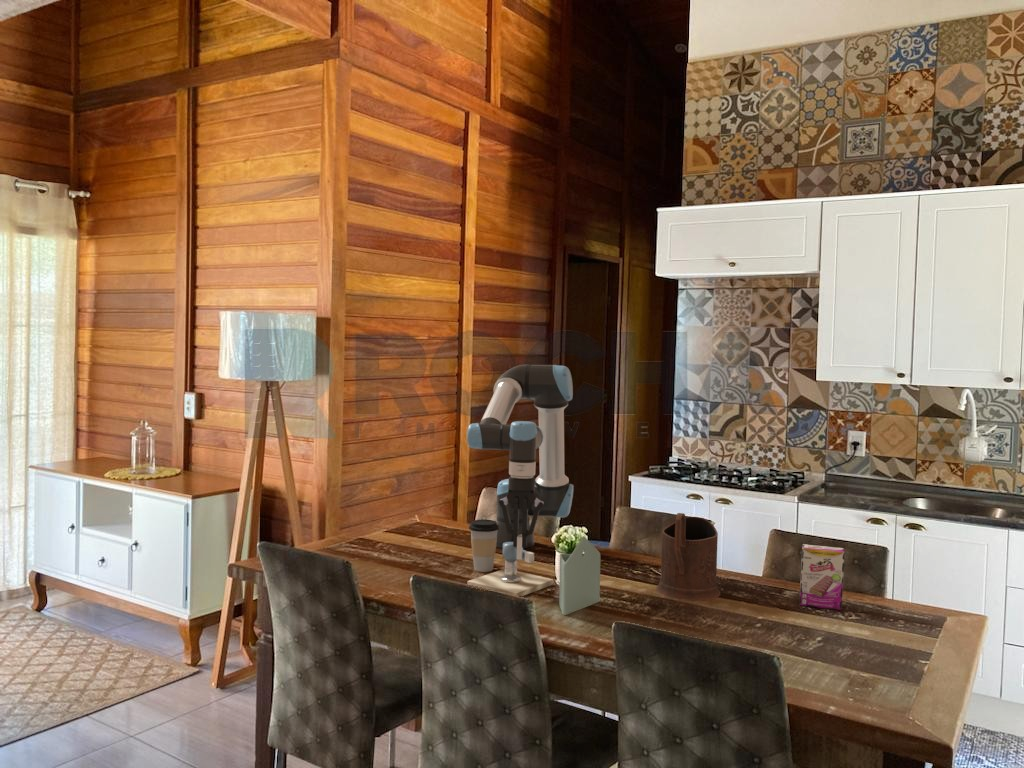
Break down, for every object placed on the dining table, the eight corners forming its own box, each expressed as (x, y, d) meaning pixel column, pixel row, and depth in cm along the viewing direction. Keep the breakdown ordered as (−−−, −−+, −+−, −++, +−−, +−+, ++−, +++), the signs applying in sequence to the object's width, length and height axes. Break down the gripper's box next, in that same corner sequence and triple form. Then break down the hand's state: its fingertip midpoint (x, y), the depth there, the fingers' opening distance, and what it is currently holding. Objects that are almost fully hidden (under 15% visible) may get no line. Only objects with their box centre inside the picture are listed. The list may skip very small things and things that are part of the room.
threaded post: (508, 576, 258) (509, 554, 258) (524, 579, 254) (525, 558, 254) (496, 580, 253) (496, 558, 253) (512, 584, 249) (512, 562, 249)
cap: (499, 556, 254) (499, 543, 254) (513, 554, 257) (513, 541, 257) (524, 566, 244) (524, 552, 243) (538, 563, 247) (538, 550, 246)
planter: (576, 595, 245) (578, 526, 244) (600, 601, 240) (601, 531, 239) (541, 609, 232) (542, 536, 231) (564, 615, 227) (566, 541, 226)
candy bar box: (799, 606, 239) (801, 547, 238) (799, 601, 243) (801, 543, 243) (842, 611, 235) (845, 551, 234) (842, 605, 240) (844, 547, 239)
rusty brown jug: (726, 587, 256) (729, 503, 254) (709, 609, 234) (711, 518, 233) (665, 578, 264) (667, 497, 262) (642, 600, 242) (645, 511, 240)
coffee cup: (499, 566, 275) (500, 519, 274) (496, 574, 265) (497, 525, 264) (470, 564, 276) (471, 518, 275) (466, 572, 266) (466, 524, 265)
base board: (505, 573, 266) (505, 568, 266) (553, 584, 255) (553, 579, 255) (467, 586, 252) (467, 581, 252) (516, 598, 241) (516, 593, 241)
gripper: (497, 477, 242) (495, 560, 243) (543, 479, 240) (540, 563, 241) (501, 473, 249) (499, 553, 250) (546, 475, 247) (543, 556, 249)
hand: (519, 558), depth 246 cm, fingers closed
